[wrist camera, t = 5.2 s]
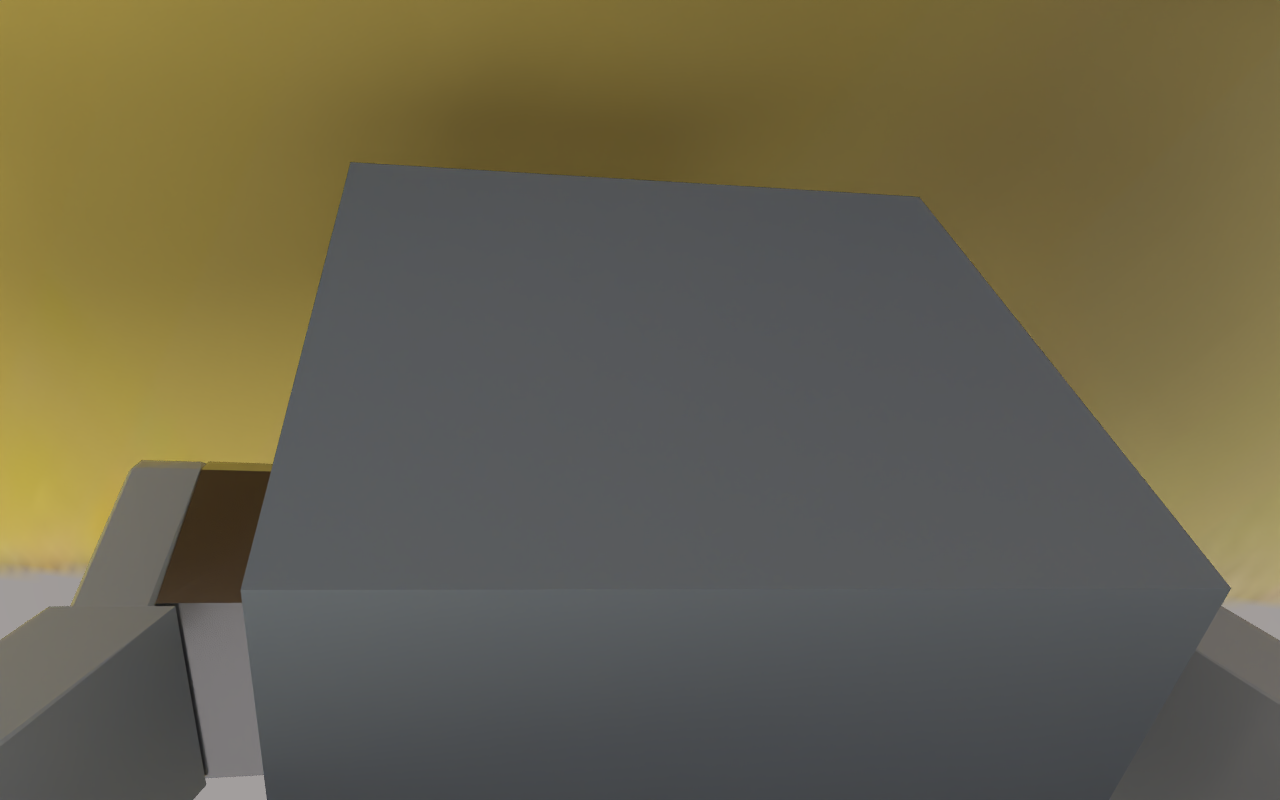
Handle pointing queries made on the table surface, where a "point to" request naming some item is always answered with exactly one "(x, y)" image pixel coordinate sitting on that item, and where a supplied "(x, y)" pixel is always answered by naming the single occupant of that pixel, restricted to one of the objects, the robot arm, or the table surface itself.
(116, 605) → the robot arm
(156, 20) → the table surface
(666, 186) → the block
